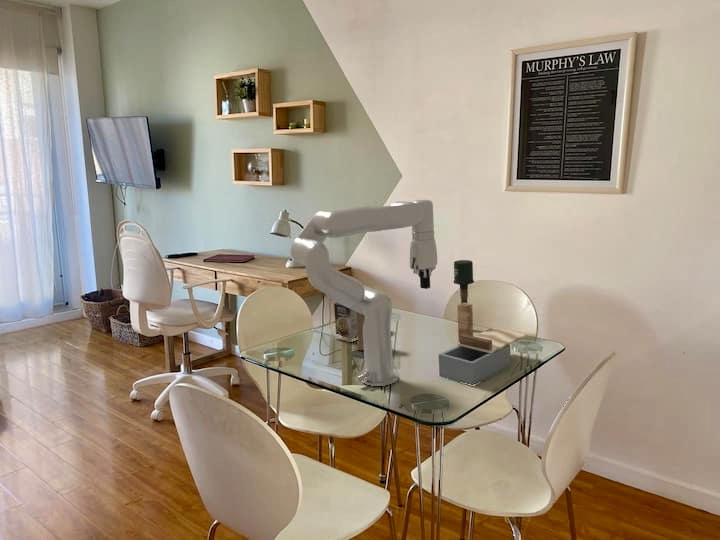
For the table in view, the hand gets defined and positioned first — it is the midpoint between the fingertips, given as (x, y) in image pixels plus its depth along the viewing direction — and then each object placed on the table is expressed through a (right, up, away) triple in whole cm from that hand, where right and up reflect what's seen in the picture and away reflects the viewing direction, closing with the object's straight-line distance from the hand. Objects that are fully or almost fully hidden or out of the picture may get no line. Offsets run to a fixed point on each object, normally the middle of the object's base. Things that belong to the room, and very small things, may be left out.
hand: (425, 287), depth 190 cm
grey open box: (+17, -29, -2) cm, 34 cm away
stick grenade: (+23, -20, +44) cm, 53 cm away
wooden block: (-18, -26, +28) cm, 42 cm away
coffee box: (-28, -24, +41) cm, 55 cm away
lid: (+24, -19, +3) cm, 31 cm away
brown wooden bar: (+18, -25, +20) cm, 37 cm away
